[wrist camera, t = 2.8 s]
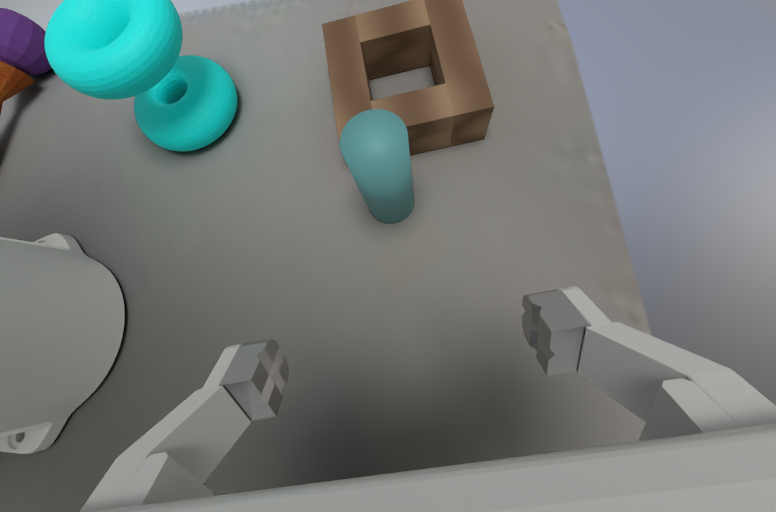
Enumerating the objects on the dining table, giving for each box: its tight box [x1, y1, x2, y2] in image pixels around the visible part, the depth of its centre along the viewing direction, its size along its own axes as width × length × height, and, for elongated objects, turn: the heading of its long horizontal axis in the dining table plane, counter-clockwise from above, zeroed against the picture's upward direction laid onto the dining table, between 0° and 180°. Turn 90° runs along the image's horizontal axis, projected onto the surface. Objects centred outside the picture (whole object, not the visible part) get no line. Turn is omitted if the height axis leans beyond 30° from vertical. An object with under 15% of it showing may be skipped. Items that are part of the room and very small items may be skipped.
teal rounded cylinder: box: [340, 109, 414, 223], centre depth 22 cm, size 4×4×9 cm
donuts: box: [44, 0, 237, 151], centre depth 26 cm, size 10×10×10 cm
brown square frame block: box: [322, 0, 494, 155], centre depth 26 cm, size 12×12×4 cm
